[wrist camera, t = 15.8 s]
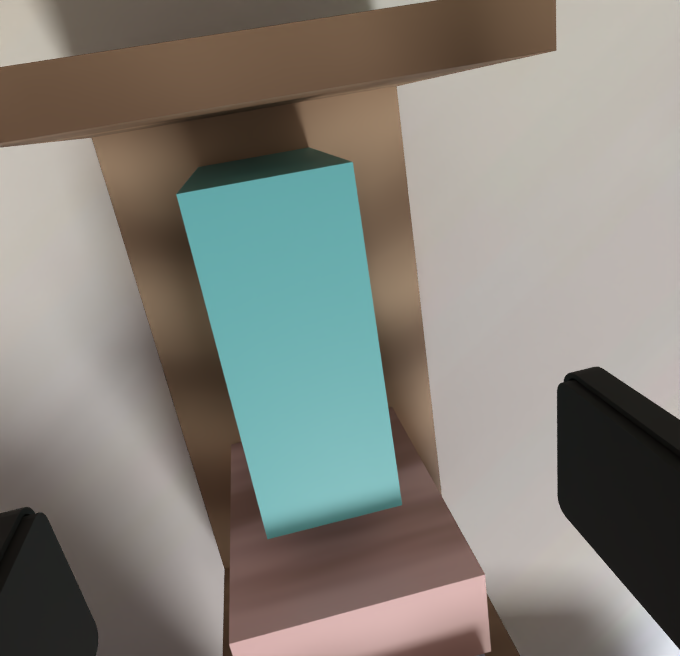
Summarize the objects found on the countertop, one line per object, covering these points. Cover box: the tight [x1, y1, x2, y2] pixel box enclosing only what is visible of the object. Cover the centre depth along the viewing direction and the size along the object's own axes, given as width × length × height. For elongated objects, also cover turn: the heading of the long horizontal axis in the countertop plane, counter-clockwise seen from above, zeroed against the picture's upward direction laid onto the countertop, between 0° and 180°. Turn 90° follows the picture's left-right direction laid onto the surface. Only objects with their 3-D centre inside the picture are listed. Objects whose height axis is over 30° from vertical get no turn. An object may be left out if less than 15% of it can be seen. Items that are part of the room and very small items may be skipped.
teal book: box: [176, 147, 402, 539], centre depth 20 cm, size 11×4×9 cm, turn 9°
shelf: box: [0, 0, 556, 656], centre depth 21 cm, size 24×12×14 cm, turn 9°
